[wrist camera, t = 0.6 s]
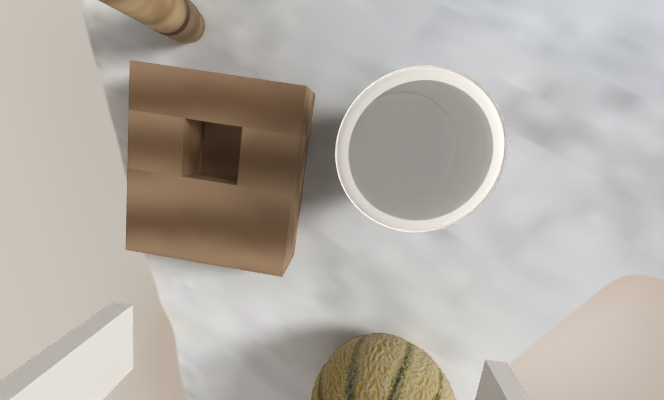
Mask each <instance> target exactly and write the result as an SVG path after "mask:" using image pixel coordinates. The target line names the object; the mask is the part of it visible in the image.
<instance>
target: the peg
mask: <svg viewBox="0 0 664 400" xmlns="http://www.w3.org/2000/svg"><path fill="white" fill-rule="evenodd" d="M99 1H101V2H103V3H105V4H107V5H109V6H111V7H112V8H114V9H116V10H118V11H120V12H122V13H124V14H126V15H128V16H130V17H132V18H134V19H135V20H137V21H139V22H141V23H143V24H145V25H147V26H149V27H151V28H153V29H154V30H155V31H157V32H159V33H161V34H163V35H166V36H168V37H170V38H172V39H174V40H176V41H179V42H187V43H192V42H196V41H197V40H199V39H200V38H201V36H202V35H203V33H204V29H205V24H204V19H203V17H202V15H201V14H200V13H199V11H198V9H197V8H196V6H195V5H194V4H193V3H192V2H191V1H189V0H99Z"/></svg>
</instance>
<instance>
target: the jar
mask: <svg viewBox="0 0 664 400" xmlns="http://www.w3.org/2000/svg"><path fill="white" fill-rule="evenodd" d="M507 150H508V137H507V129H506V125H505V121H504V118H503V115H502V113H501V110H500V108H499V106H498V105H497V103H496V101H495V100H494V98H493V97H492V96H491V94H490V93H489V92H488V91H487V90H486V89H485V88H484V87H483V86H482V85H481V84H480V83H478V82H477V81H476V80H474V79H473V78H471V77H470V76H468V75H466V74H464V73H462V72H460V71H457V70H454V69H451V68H447V67H442V66H435V65H419V66H411V67H407V68H403V69H399V70H396V71H394V72H391V73H389V74H387V75H385V76H383V77H381V78H380V79H378V80H376V81H375V82H373V83H372V84H371V85H369V86H368V87H367V88H366V89H365V90H364V91H363V92H362V93H361V94H360V95H359V96H358V97H357V98H356V99H355V100H354V102H353V103H352V104H351V106H350V107H349V109H348V110H347V112H346V114H345V116H344V118H343V120H342V122H341V125H340V127H339V130H338V134H337V139H336V145H335V163H336V169H337V173H338V177H339V180H340V183H341V185H342V187H343V189H344V191H345V193H346V194H347V196H348V197H349V199H350V200H351V202H352V203H353V204H354V205H355V206H356V207H357V208H358V209H359V210H360V211H361V212H362V213H363V214H364V215H365V216H367V217H368V218H370V219H371V220H373V221H374V222H376V223H378V224H380V225H382V226H385V227H387V228H390V229H394V230H398V231H404V232H429V231H435V230H439V229H442V228H446V227H448V226H451V225H453V224H455V223H457V222H459V221H461V220H463V219H465V218H466V217H468V216H469V215H471V214H472V213H473V212H474V211H476V210H477V209H478V208H479V207H480V206H481V205H482V204H483V203H484V202H485V201H486V200H487V199H488V197H489V196H490V195H491V193H492V192H493V190H494V189H495V187H496V185H497V184H498V182H499V180H500V177H501V175H502V173H503V170H504V166H505V163H506V158H507Z"/></svg>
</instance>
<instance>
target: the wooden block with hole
mask: <svg viewBox="0 0 664 400" xmlns="http://www.w3.org/2000/svg"><path fill="white" fill-rule="evenodd" d="M314 98H315V94H314V93H313V92H312V91H311V90H310V89H309V88H308V87H307V86H302V85H295V84H289V83H282V82H275V81H268V80H261V79H254V78H247V77H241V76H234V75H227V74H220V73H213V72H206V71H200V70H193V69H186V68H179V67H172V66H165V65H159V64H152V63H145V62H138V61H131V60H130V80H129V125H128V170H127V216H126V250H131V251H136V252H142V253H148V254H153V255H159V256H165V257H171V258H177V259H182V260H188V261H194V262H200V263H206V264H211V265H217V266H223V267H229V268H235V269H240V270H246V271H252V272H258V273H263V274H269V275H275V276H281V277H282V276H283V274H284V272H285V271H286V269H287V267H288V265H289V263H290V261H291V259H292V257H293V255H294V249H295V242H296V234H297V227H298V219H299V212H300V204H301V196H302V189H303V181H304V174H305V166H306V159H307V151H308V144H309V136H310V128H311V121H312V113H313V106H314Z"/></svg>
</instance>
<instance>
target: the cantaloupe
mask: <svg viewBox="0 0 664 400" xmlns="http://www.w3.org/2000/svg"><path fill="white" fill-rule="evenodd" d="M311 400H456V399H455V396H454V393H453V390H452V388H451V387H450V383H449V381H448V380H447V378H446V377H445V374H444V373H443V372H442V370H441V369H440V368H439V367H438V366H437V364H436V363H435V362H434V361H433V360H432V358H431V357H430V356H429V355H428V354H427V353H426V352H425V351H424V350H423V349H420V348H418V347H417V346H415V345H414V344H412V343H410V342H408V341H406V340H404V339H402V338H400V337H397V336H394V335H390V334H385V333H372V334H369V335H363V336H358V337H356V338H353V339H352V340H350V341H348V342H346V343H345V344H343V345H341V346H339V348H338V349H337V350H336V351H335V352H334V353H333V354H332V355H331V357H330V358H329V360H328V362H327V363H326V364H325V365H324V366H323V368H322V370H321V372H320V373H319V375H318V377H317V379H316V382H315V385H314V388H313V390H312V397H311Z"/></svg>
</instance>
